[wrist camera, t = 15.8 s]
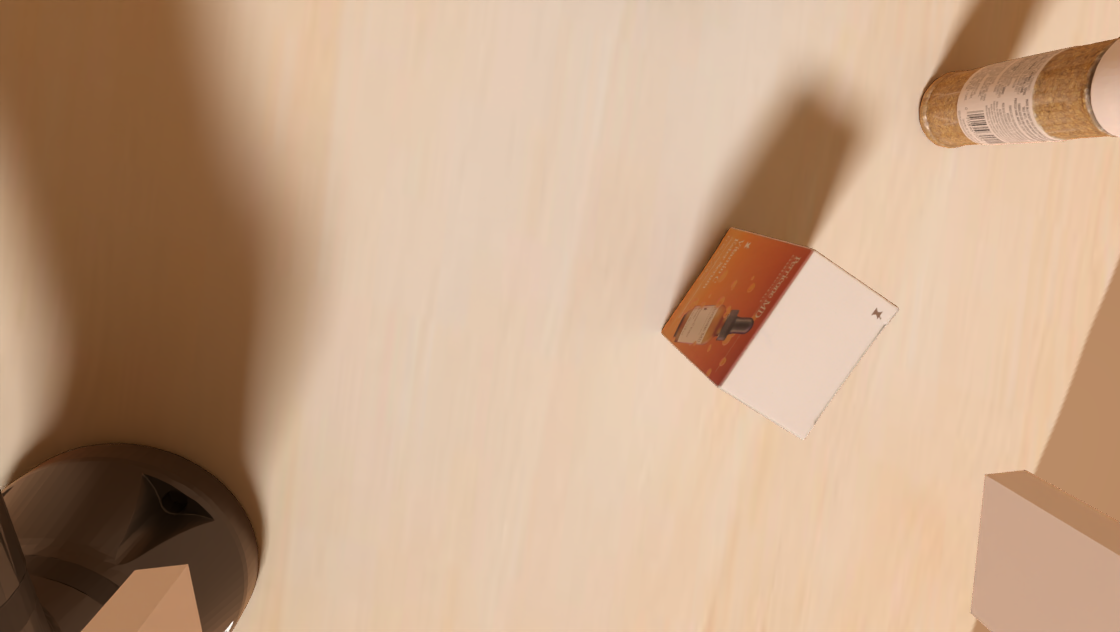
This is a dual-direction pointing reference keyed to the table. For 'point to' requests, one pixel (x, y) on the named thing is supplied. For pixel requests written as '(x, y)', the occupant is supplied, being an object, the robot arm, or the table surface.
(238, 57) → the table surface
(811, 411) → the small box
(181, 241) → the table surface
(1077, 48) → the sprinkles bottle
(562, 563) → the table surface
